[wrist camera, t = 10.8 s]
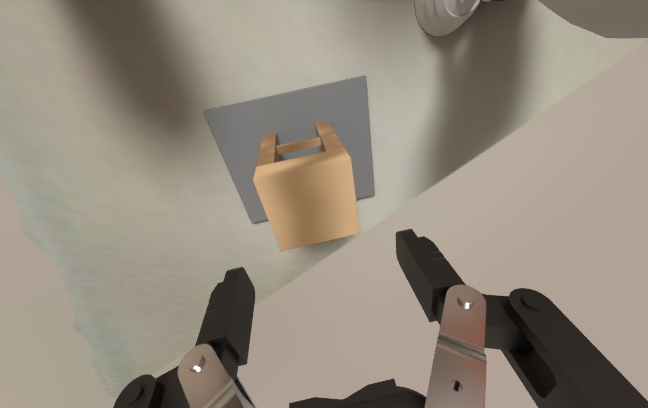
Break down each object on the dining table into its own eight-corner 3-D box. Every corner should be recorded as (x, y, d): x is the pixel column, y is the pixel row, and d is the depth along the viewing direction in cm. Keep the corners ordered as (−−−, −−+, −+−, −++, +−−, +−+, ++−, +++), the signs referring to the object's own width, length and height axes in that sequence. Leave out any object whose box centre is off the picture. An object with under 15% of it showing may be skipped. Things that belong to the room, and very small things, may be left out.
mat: (364, 75, 21) (366, 76, 21) (373, 192, 28) (374, 194, 27) (204, 110, 21) (203, 111, 20) (252, 220, 27) (251, 223, 27)
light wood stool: (327, 121, 22) (350, 158, 15) (337, 178, 26) (360, 233, 18) (263, 135, 22) (253, 180, 15) (280, 191, 25) (280, 251, 18)
